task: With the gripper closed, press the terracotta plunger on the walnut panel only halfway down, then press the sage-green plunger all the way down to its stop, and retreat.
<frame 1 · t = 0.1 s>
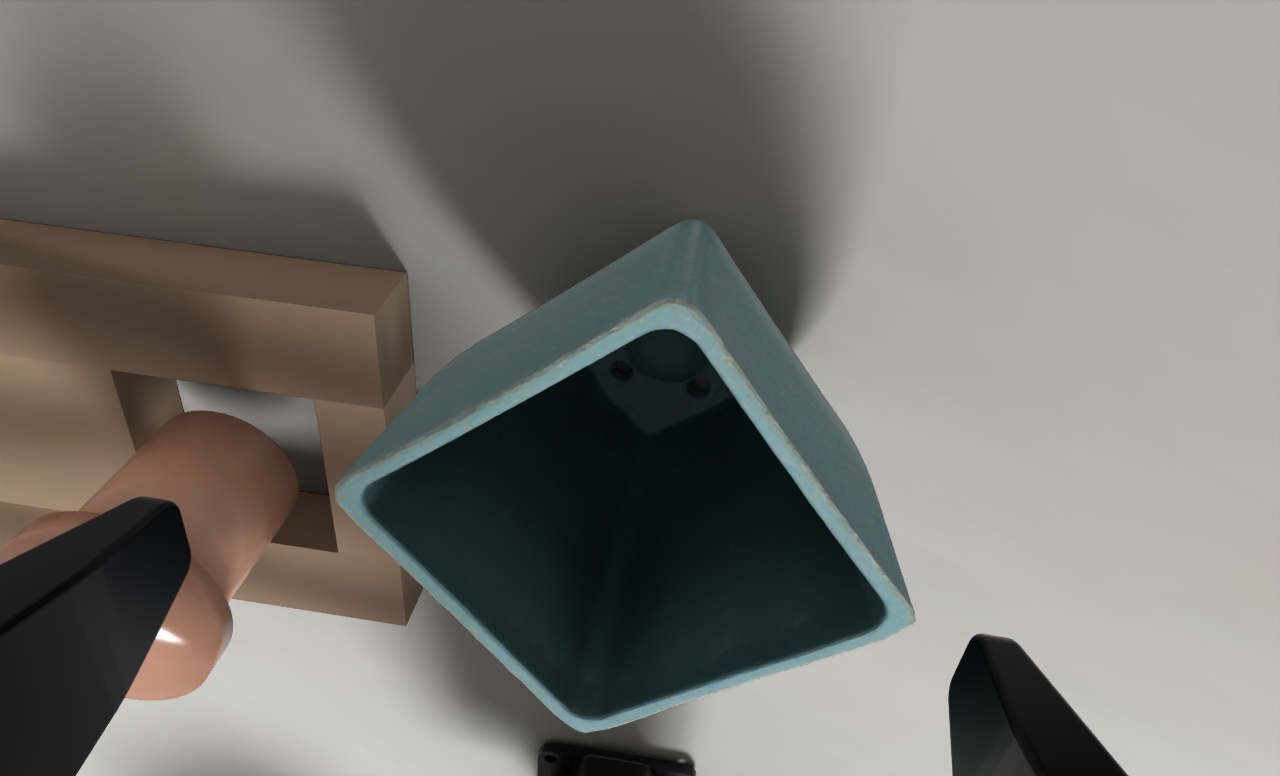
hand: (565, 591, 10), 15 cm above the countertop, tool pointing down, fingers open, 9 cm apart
terracotta plunger: (169, 540, 24), point 6 cm above the countertop, slide at 0.0 cm
panel: (95, 393, 29), on the countertop
flower pot: (666, 334, 25), on the countertop
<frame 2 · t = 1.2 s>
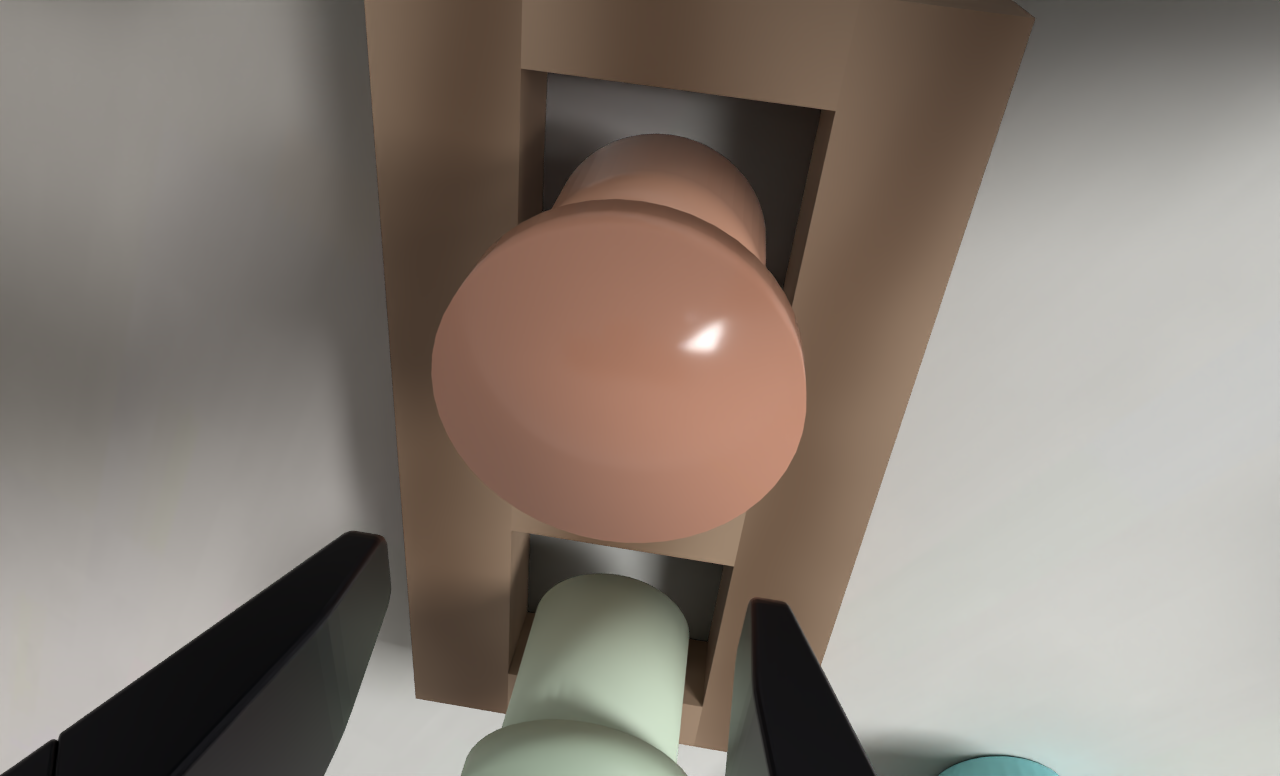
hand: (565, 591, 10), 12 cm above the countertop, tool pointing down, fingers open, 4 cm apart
sage plunger: (593, 721, 22), point 6 cm above the countertop, slide at 0.0 cm
terracotta plunger: (640, 308, 15), point 6 cm above the countertop, slide at 0.0 cm
panel: (644, 403, 23), on the countertop
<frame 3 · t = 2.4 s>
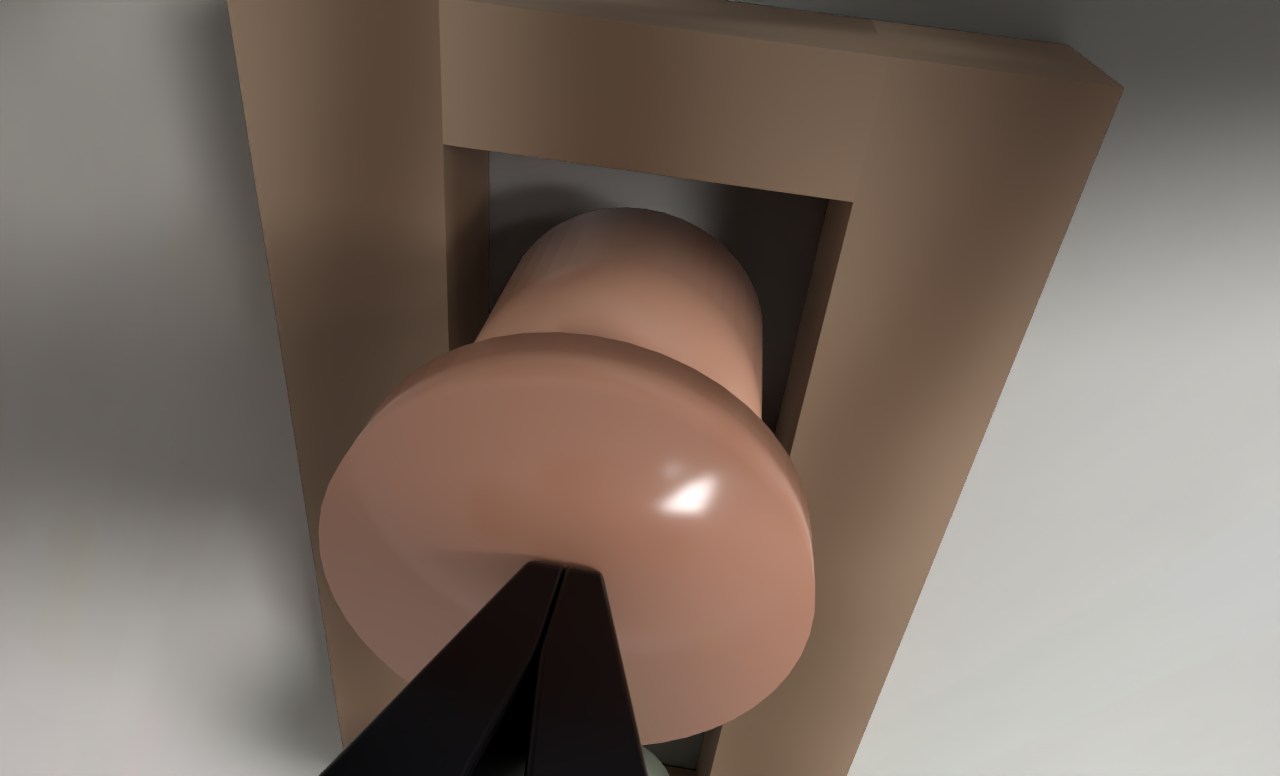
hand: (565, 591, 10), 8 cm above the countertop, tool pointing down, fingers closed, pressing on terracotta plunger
terracotta plunger: (603, 435, 12), point 5 cm above the countertop, slide at 0.8 cm, touching gripper
panel: (618, 518, 20), on the countertop
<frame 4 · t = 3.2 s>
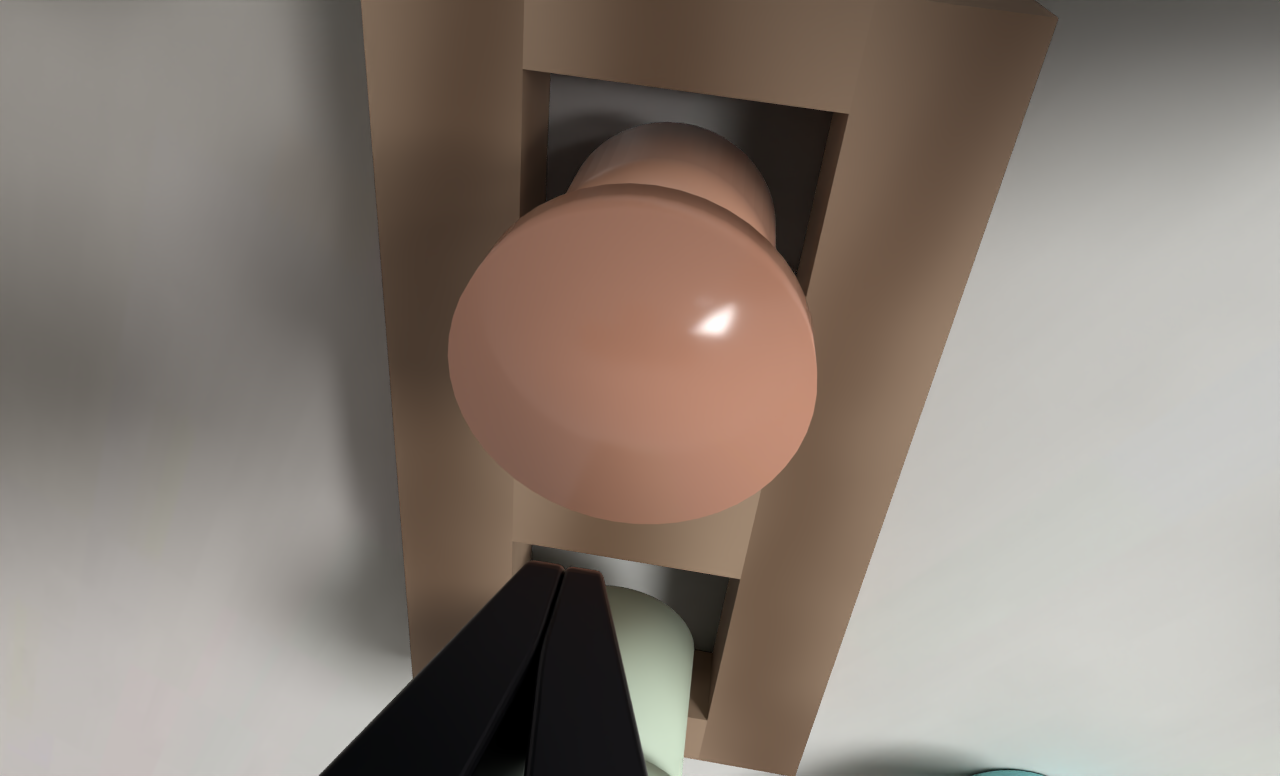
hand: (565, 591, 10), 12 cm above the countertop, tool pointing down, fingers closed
sage plunger: (596, 737, 22), point 6 cm above the countertop, slide at 0.0 cm
terracotta plunger: (651, 294, 16), point 5 cm above the countertop, slide at 0.9 cm
panel: (649, 411, 23), on the countertop
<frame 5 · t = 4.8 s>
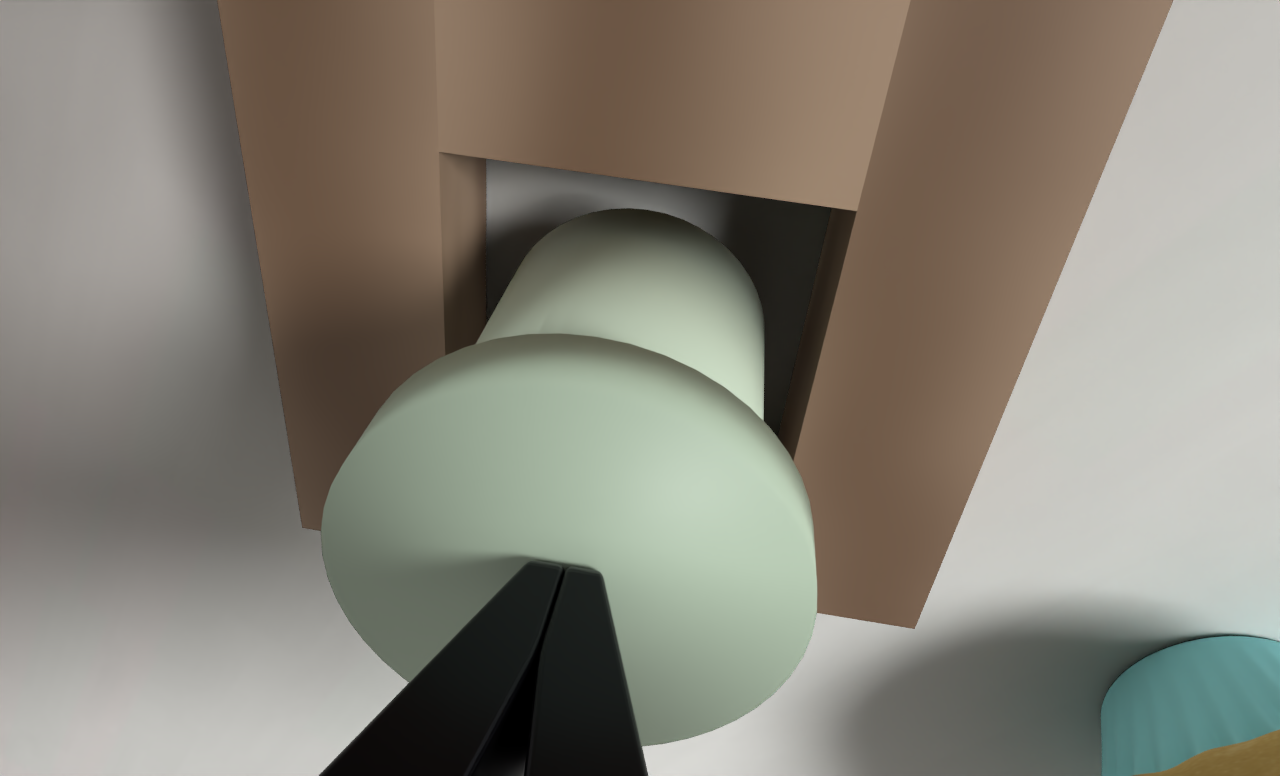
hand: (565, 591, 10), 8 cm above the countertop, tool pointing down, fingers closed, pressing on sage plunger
sage plunger: (605, 436, 12), point 5 cm above the countertop, slide at 1.1 cm, touching gripper
cupcake: (1200, 694, 20), on the countertop
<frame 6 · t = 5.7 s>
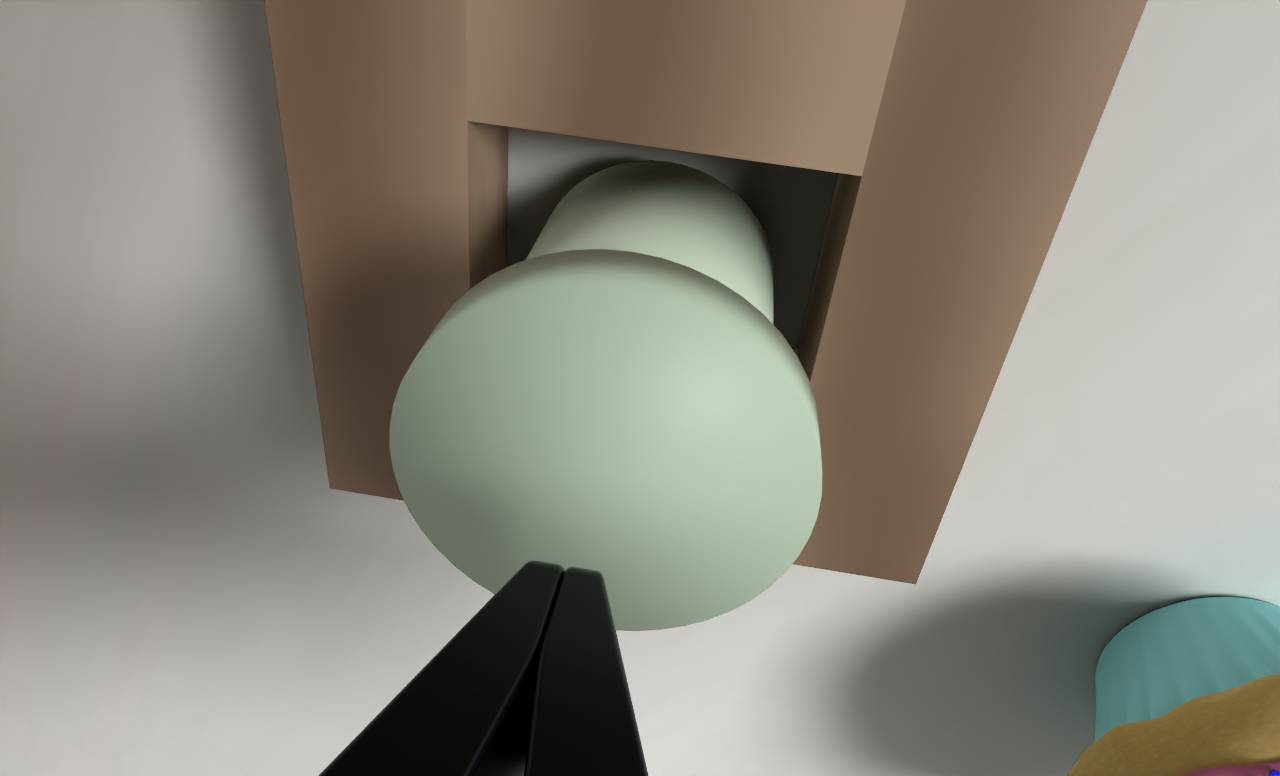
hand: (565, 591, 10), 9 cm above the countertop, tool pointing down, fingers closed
sage plunger: (632, 360, 14), point 4 cm above the countertop, slide at 1.9 cm
cupcake: (1191, 656, 21), on the countertop
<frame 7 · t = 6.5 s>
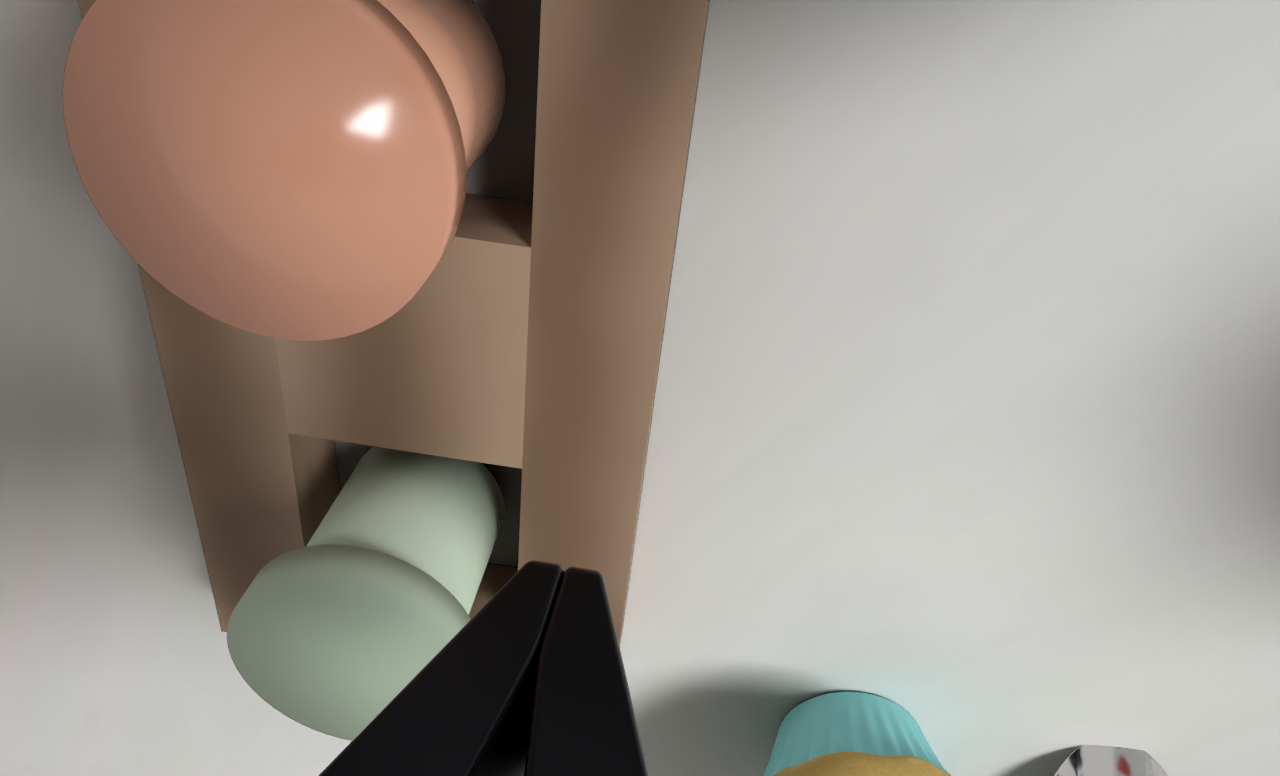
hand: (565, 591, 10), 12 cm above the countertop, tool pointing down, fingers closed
sage plunger: (392, 573, 22), point 4 cm above the countertop, slide at 1.9 cm
terracotta plunger: (339, 115, 15), point 5 cm above the countertop, slide at 0.9 cm
cupcake: (843, 730, 30), on the countertop
panel: (432, 300, 22), on the countertop
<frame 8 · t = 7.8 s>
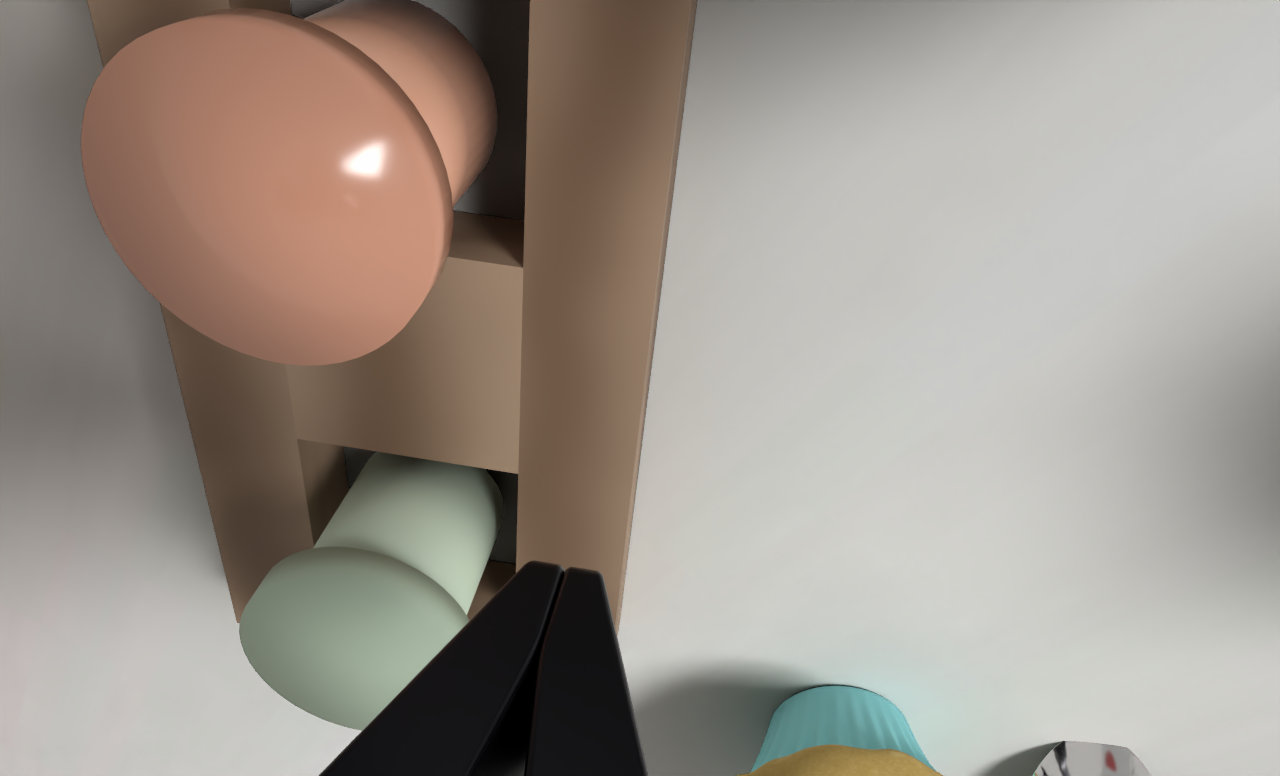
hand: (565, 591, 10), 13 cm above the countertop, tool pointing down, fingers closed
sage plunger: (396, 571, 24), point 4 cm above the countertop, slide at 1.9 cm
terracotta plunger: (338, 151, 16), point 5 cm above the countertop, slide at 0.9 cm
cupcake: (833, 722, 31), on the countertop
panel: (433, 312, 23), on the countertop
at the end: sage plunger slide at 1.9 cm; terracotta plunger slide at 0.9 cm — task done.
